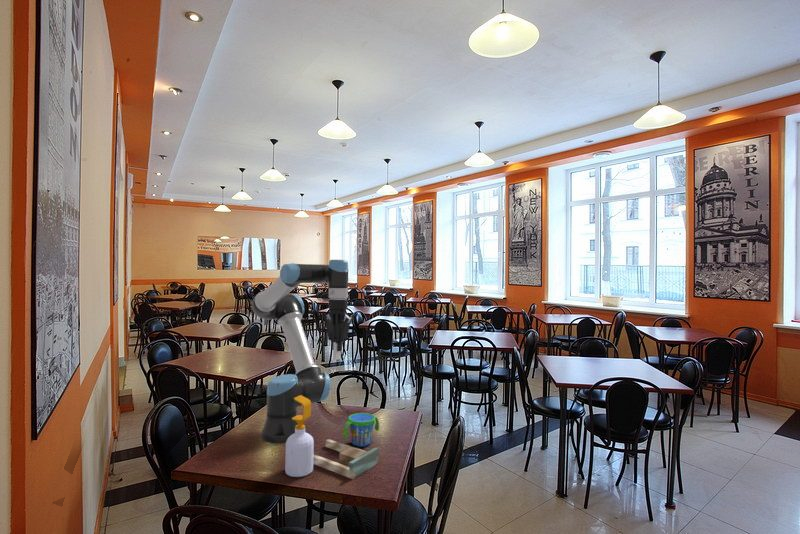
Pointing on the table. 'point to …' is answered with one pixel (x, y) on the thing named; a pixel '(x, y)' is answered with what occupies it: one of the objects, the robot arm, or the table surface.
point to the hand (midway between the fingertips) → (336, 359)
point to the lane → (354, 467)
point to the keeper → (349, 455)
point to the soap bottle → (300, 444)
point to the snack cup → (361, 428)
